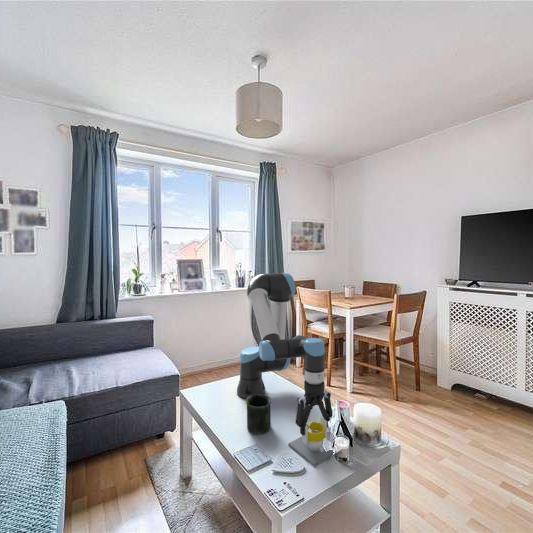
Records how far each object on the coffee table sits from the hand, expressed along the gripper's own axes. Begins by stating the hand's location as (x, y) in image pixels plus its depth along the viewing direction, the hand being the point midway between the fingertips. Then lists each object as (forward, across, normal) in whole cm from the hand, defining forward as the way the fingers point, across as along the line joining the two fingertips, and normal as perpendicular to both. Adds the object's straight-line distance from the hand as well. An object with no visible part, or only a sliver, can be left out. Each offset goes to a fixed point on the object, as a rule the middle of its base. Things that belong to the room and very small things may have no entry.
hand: (314, 439), depth 113 cm
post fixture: (+4, 0, 0) cm, 4 cm away
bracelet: (-1, 0, 0) cm, 1 cm away
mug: (+4, -13, +23) cm, 27 cm away
